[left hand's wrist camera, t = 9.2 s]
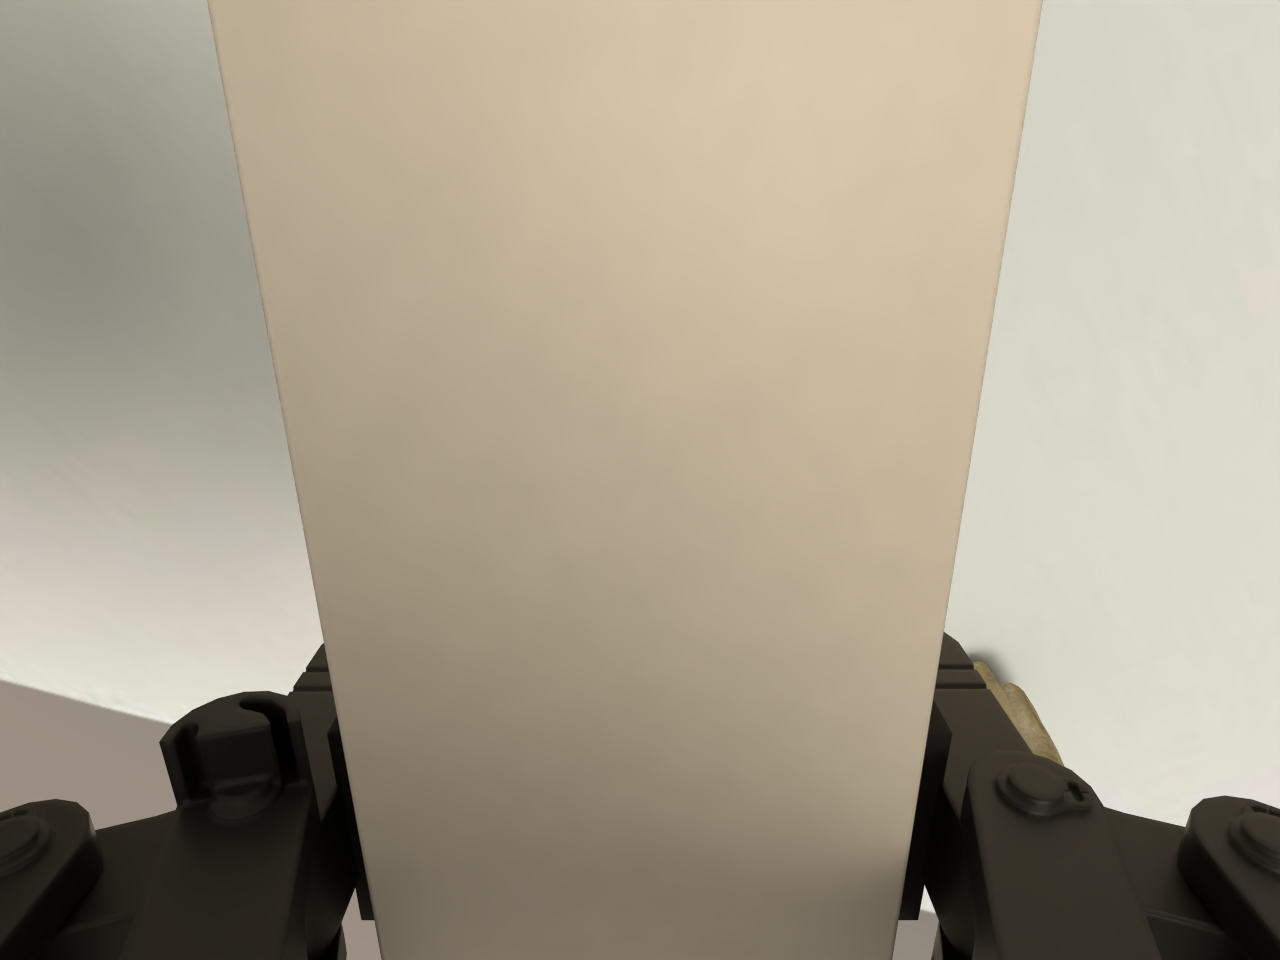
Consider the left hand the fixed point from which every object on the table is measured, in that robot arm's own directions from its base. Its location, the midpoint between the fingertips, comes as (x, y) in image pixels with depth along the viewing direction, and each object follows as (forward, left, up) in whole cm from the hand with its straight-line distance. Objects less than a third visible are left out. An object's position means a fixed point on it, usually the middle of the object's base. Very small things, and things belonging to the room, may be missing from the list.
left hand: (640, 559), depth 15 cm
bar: (-6, +18, -1) cm, 18 cm away
